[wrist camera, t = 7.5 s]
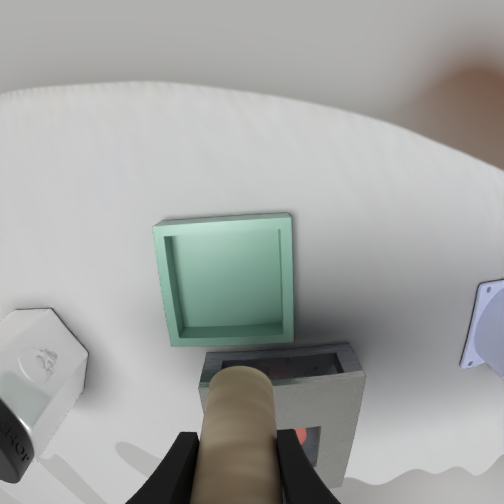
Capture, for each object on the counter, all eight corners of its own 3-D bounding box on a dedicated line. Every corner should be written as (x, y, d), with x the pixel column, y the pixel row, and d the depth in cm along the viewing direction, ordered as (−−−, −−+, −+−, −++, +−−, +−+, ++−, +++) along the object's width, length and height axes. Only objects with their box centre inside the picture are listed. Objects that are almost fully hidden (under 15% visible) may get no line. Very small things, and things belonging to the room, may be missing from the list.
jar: (110, 371, 22) (43, 484, 10) (63, 402, 23) (5, 491, 11) (36, 283, 20) (-71, 359, 8) (0, 330, 21) (-80, 399, 10)
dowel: (274, 365, 13) (293, 556, 5) (271, 412, 14) (284, 578, 6) (206, 365, 13) (171, 551, 5) (211, 411, 14) (189, 575, 6)
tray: (287, 212, 19) (291, 217, 17) (290, 327, 21) (293, 341, 19) (161, 220, 19) (152, 226, 17) (177, 332, 21) (171, 346, 19)
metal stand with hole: (348, 343, 21) (365, 375, 17) (333, 455, 24) (341, 486, 20) (206, 352, 21) (198, 388, 17) (226, 462, 24) (223, 495, 21)
